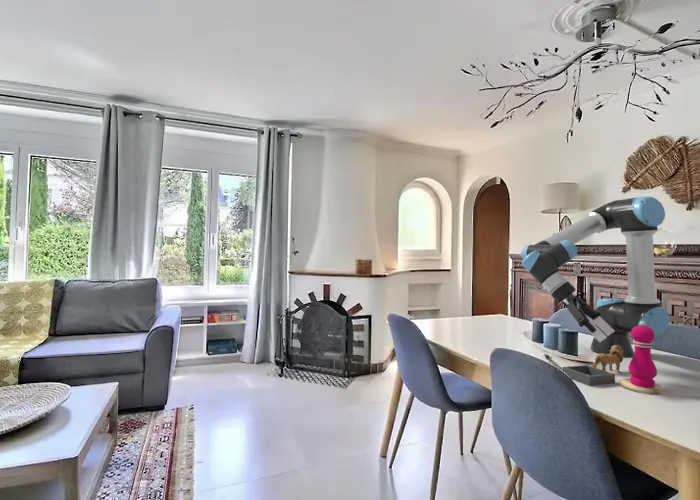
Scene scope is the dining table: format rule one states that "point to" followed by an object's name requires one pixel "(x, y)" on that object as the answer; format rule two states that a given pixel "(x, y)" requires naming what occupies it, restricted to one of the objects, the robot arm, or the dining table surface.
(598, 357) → the lion figurine
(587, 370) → the dark gray square tray
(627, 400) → the dining table surface
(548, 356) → the paintbrush
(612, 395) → the dining table surface
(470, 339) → the dining table surface
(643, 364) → the pepper mill
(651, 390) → the cork coaster
